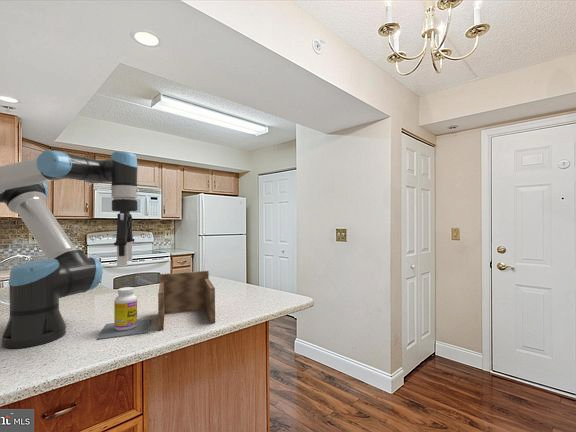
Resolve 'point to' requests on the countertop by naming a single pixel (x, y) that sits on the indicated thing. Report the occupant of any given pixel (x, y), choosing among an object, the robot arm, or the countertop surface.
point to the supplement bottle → (125, 309)
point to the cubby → (185, 294)
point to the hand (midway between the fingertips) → (125, 263)
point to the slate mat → (111, 332)
